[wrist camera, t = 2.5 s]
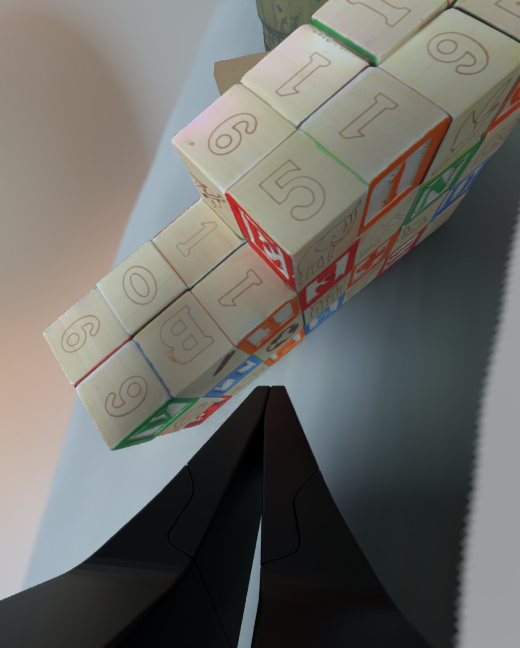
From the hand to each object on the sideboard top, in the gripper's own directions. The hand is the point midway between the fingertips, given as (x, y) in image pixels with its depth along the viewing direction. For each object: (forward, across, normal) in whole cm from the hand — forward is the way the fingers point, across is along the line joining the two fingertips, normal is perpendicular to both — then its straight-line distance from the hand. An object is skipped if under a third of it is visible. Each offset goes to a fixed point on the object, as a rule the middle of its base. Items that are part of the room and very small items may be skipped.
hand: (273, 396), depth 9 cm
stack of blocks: (+13, 0, +2) cm, 13 cm away
